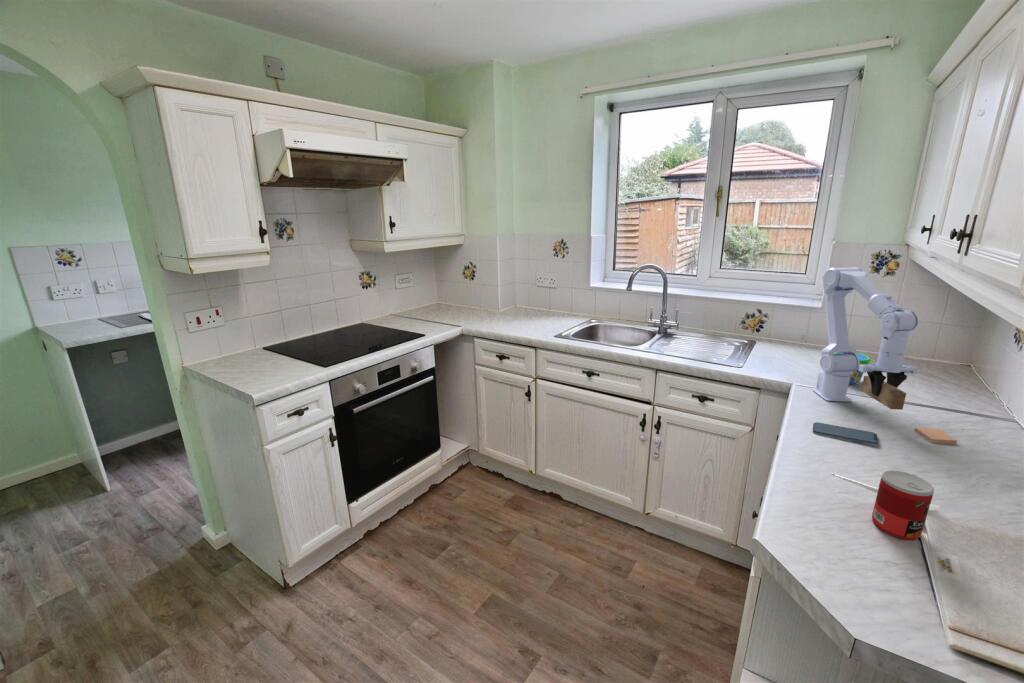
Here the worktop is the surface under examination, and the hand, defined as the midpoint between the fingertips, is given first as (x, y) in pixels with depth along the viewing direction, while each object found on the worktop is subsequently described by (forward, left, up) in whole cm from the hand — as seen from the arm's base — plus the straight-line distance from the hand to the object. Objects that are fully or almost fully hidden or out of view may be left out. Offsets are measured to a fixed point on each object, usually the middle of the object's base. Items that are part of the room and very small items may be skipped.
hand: (881, 395), depth 135 cm
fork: (+38, -21, -9) cm, 45 cm away
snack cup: (-34, +10, -9) cm, 37 cm away
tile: (+6, +10, -8) cm, 14 cm away
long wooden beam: (0, 0, -2) cm, 2 cm away
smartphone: (+10, -14, -9) cm, 20 cm away
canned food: (+51, -26, -9) cm, 58 cm away
